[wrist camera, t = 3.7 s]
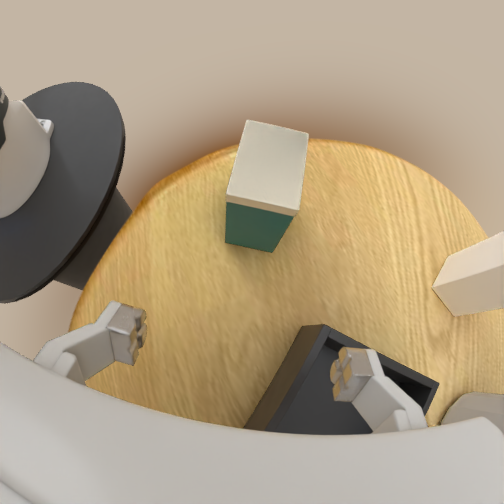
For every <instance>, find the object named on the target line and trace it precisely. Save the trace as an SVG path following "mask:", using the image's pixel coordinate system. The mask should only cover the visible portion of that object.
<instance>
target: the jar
mask: <svg viewBox="0 0 504 504" xmlns="http://www.w3.org/2000/svg"><path fill="white" fill-rule="evenodd" d="M480 416H482V417H485V418H487V419H488V420H489V421H491V422H492V423H493V424H494V425H495V426H496V427H498V428H499V430H500V431H501V432H502V433H503V435H504V394H492V393H482V392H471V393H467V394H463V395H462V396H461V397H460V398H459V399H458V400H457V401H456V402H455V403H454V404H453V405H452V406H450V407H449V409H448V411H447V413H446V414H445V416H444V418H443V420H442V422H441V425H445V424H450V423H454V422H459V421H463V420H467V419H471V418H475V417H480Z"/></svg>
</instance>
